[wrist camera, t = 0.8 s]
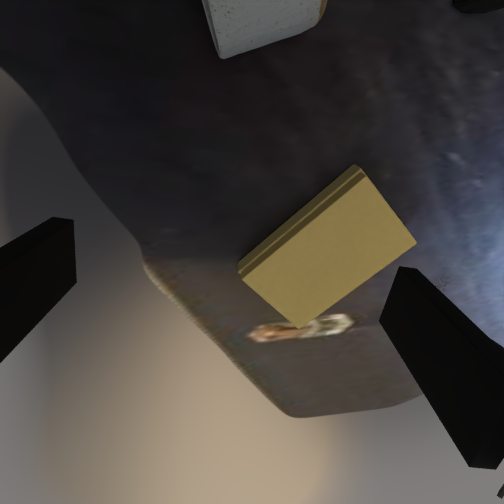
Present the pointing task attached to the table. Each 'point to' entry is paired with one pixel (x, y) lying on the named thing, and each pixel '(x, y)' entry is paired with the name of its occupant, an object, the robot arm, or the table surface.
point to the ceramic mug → (258, 22)
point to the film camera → (478, 5)
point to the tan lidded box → (326, 249)
